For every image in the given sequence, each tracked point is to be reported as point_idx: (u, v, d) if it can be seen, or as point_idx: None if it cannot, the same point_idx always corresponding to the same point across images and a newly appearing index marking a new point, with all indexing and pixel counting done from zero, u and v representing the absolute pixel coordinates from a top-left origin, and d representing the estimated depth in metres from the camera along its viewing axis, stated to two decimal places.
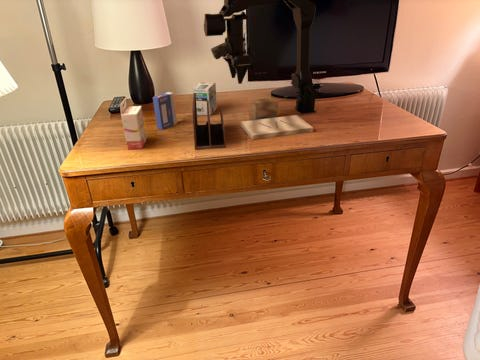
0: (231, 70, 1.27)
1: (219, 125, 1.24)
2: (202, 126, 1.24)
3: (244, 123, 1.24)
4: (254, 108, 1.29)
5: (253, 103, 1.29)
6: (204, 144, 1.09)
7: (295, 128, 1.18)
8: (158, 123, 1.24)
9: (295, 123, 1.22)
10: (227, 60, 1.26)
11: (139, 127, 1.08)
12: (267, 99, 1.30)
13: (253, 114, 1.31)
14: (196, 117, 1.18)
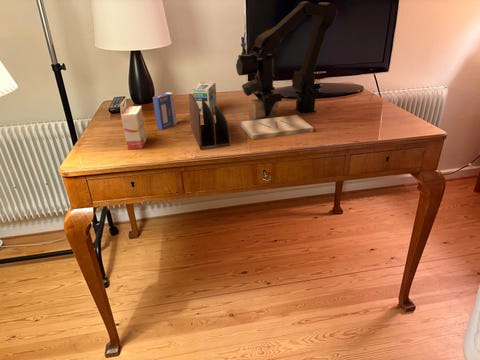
0: None
1: (215, 125, 1.24)
2: None
3: (244, 123, 1.24)
4: (254, 108, 1.28)
5: (253, 103, 1.29)
6: (208, 144, 1.10)
7: (295, 128, 1.18)
8: (158, 123, 1.24)
9: (295, 123, 1.22)
10: (257, 96, 1.31)
11: (139, 127, 1.08)
12: None
13: (253, 114, 1.31)
14: None
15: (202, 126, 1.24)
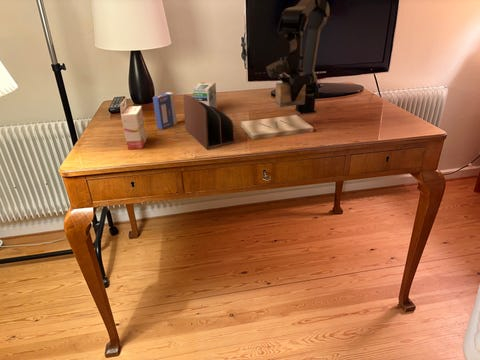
0: None
1: None
2: None
3: (244, 123, 1.24)
4: (279, 92, 1.15)
5: (277, 87, 1.16)
6: (214, 143, 1.10)
7: (295, 128, 1.18)
8: (158, 123, 1.24)
9: (295, 123, 1.22)
10: (282, 79, 1.18)
11: (139, 127, 1.08)
12: None
13: (277, 99, 1.18)
14: None
15: None
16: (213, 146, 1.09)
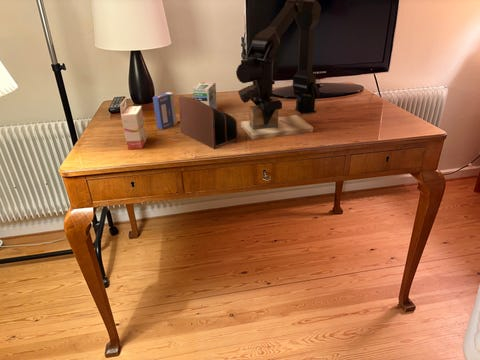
0: None
1: None
2: None
3: (244, 123, 1.24)
4: (252, 115, 1.17)
5: (251, 110, 1.17)
6: (219, 142, 1.11)
7: (295, 128, 1.18)
8: (158, 123, 1.24)
9: (295, 123, 1.22)
10: (255, 102, 1.19)
11: (139, 127, 1.08)
12: None
13: (251, 122, 1.19)
14: None
15: None
16: (219, 145, 1.09)
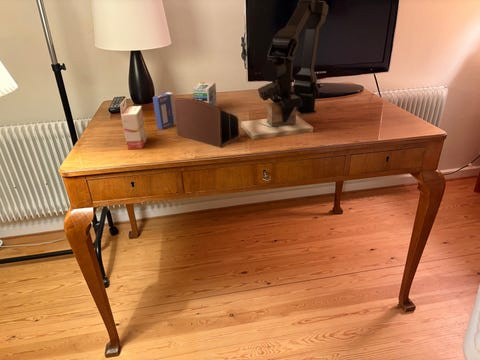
0: None
1: None
2: None
3: (244, 123, 1.24)
4: (270, 112, 1.18)
5: (269, 107, 1.18)
6: (223, 140, 1.12)
7: (295, 128, 1.18)
8: (158, 123, 1.24)
9: None
10: (274, 100, 1.21)
11: (139, 127, 1.08)
12: None
13: (269, 119, 1.21)
14: None
15: None
16: (225, 143, 1.11)
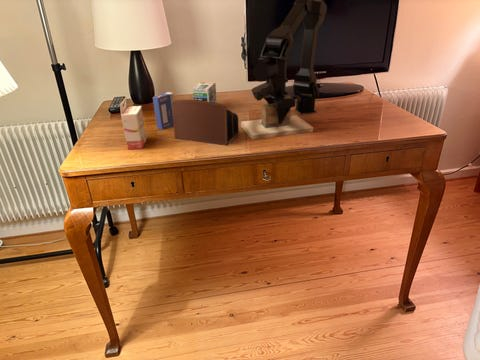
0: None
1: None
2: None
3: (244, 123, 1.24)
4: (264, 114, 1.18)
5: (263, 108, 1.18)
6: None
7: (295, 128, 1.18)
8: (158, 123, 1.24)
9: (295, 123, 1.22)
10: (267, 99, 1.21)
11: (139, 127, 1.08)
12: None
13: (263, 120, 1.20)
14: None
15: None
16: (230, 141, 1.12)
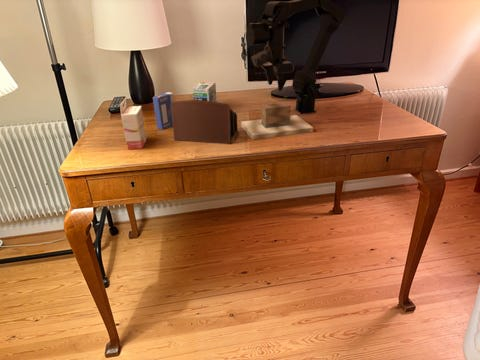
0: (268, 77, 1.29)
1: None
2: None
3: (244, 123, 1.24)
4: (264, 114, 1.18)
5: (263, 108, 1.18)
6: None
7: (295, 128, 1.18)
8: (158, 123, 1.24)
9: (295, 123, 1.22)
10: (265, 67, 1.27)
11: (139, 127, 1.08)
12: (278, 104, 1.19)
13: (263, 120, 1.20)
14: None
15: None
16: (232, 139, 1.13)
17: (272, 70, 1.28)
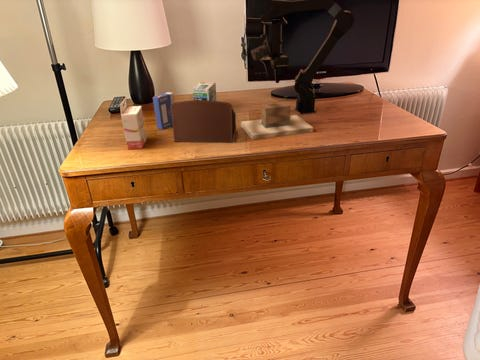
0: (267, 70, 1.37)
1: None
2: None
3: (244, 123, 1.24)
4: (264, 114, 1.18)
5: (263, 108, 1.18)
6: None
7: (295, 128, 1.18)
8: (158, 123, 1.24)
9: (295, 123, 1.22)
10: (264, 61, 1.36)
11: (139, 127, 1.08)
12: (278, 104, 1.19)
13: (263, 120, 1.20)
14: None
15: None
16: (233, 138, 1.14)
17: (271, 64, 1.37)
